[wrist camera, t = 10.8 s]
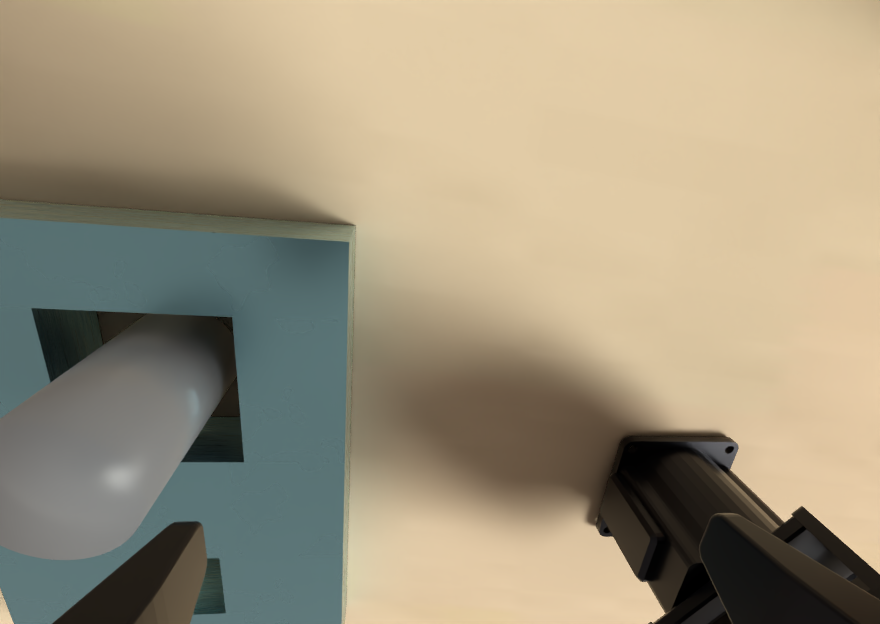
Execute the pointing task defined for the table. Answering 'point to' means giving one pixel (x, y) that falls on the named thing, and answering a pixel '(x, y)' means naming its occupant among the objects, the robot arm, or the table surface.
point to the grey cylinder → (109, 436)
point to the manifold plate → (222, 438)
